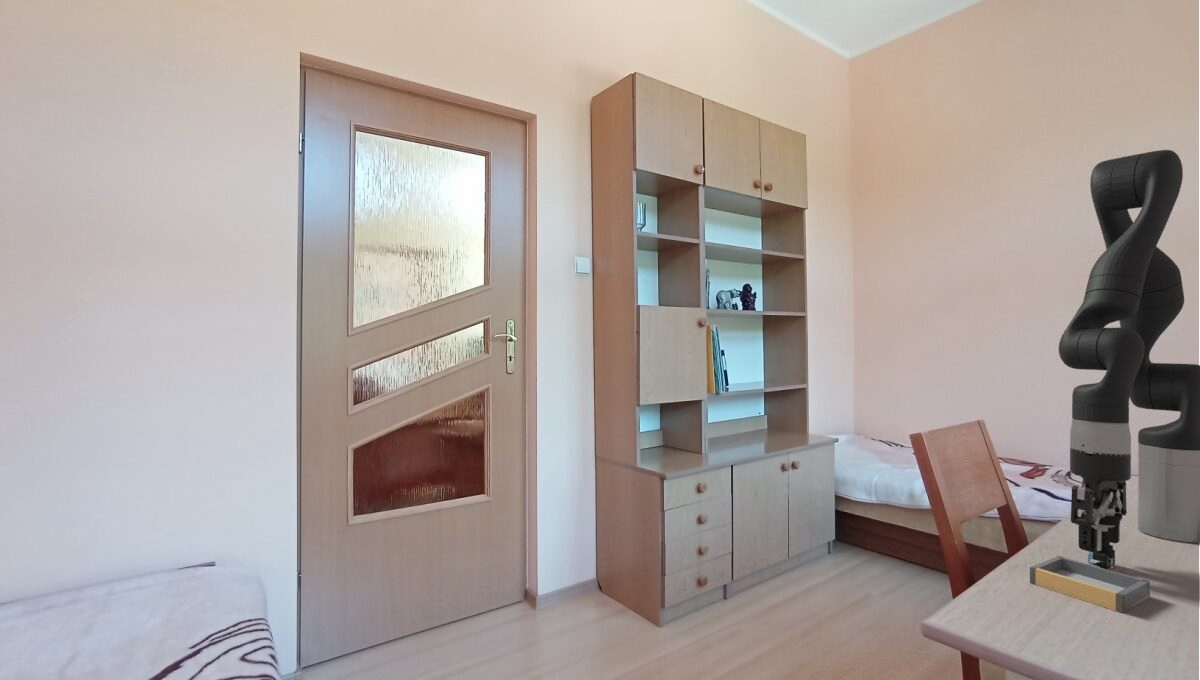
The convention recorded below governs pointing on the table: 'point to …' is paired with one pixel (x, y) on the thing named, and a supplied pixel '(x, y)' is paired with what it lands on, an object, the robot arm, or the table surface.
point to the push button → (1105, 541)
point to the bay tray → (1090, 583)
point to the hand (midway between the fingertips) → (1099, 546)
